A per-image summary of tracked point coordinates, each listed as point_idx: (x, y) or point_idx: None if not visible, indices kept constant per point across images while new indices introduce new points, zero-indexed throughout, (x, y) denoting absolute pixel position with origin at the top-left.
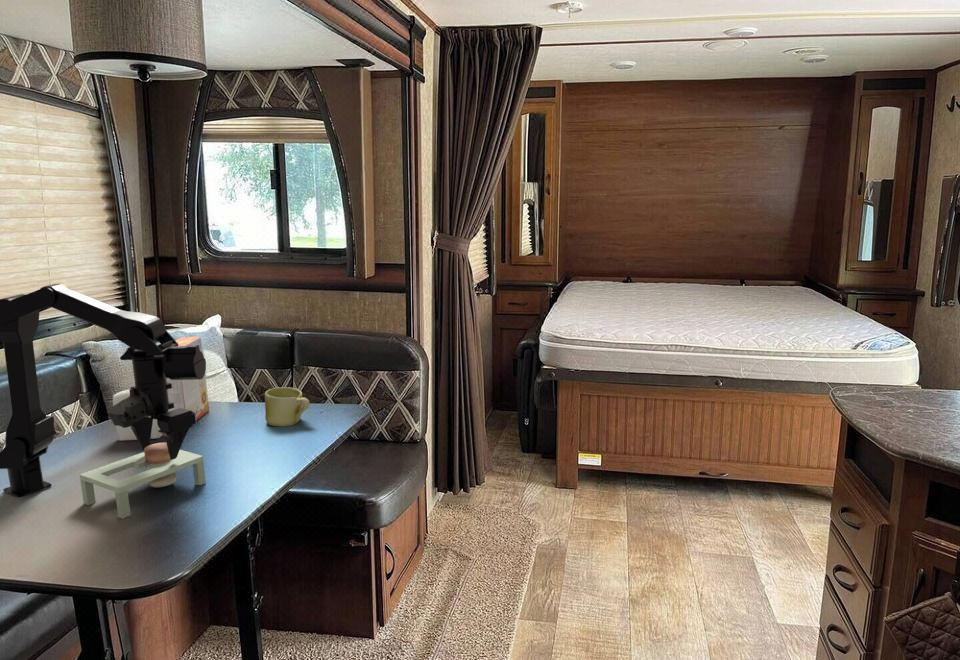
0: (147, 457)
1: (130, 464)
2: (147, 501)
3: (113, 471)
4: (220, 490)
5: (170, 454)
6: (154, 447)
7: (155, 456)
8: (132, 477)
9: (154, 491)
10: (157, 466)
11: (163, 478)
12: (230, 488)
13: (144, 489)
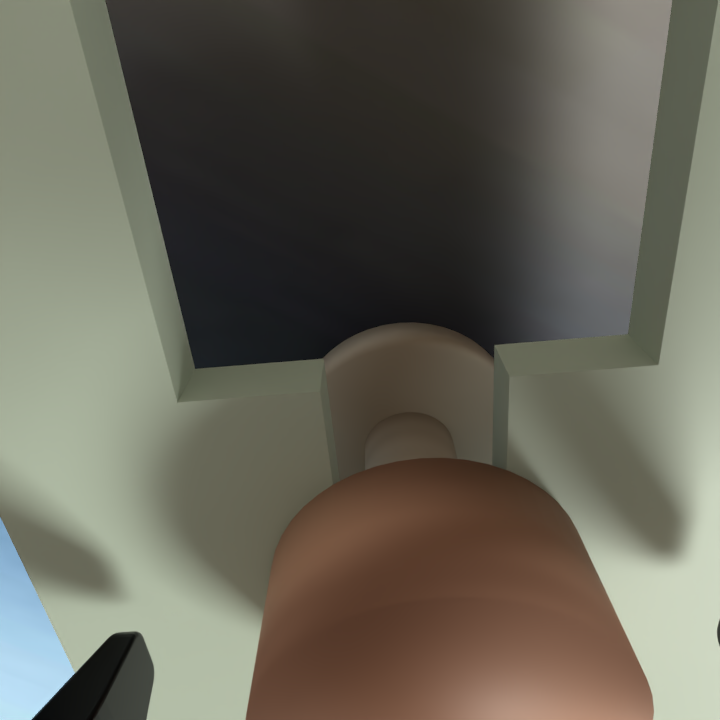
0: (417, 516)
1: (650, 326)
2: (219, 180)
3: (688, 29)
4: (14, 560)
5: (69, 697)
6: (483, 713)
7: (299, 580)
8: (11, 33)
9: (373, 319)
10: (195, 468)
11: (351, 437)
12: (2, 600)
13: (486, 294)
